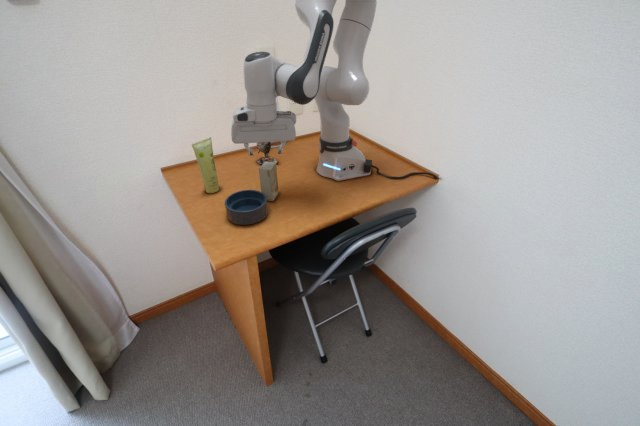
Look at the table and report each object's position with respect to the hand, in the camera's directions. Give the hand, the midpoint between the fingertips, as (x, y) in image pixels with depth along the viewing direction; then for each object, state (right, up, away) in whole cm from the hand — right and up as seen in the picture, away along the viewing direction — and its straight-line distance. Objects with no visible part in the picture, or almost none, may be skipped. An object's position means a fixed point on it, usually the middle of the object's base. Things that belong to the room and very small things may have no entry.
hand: (265, 154), depth 104 cm
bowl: (-6, -20, 0) cm, 21 cm away
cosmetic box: (0, -14, +10) cm, 17 cm away
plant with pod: (-5, +3, +33) cm, 34 cm away
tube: (-22, -11, +13) cm, 28 cm away
